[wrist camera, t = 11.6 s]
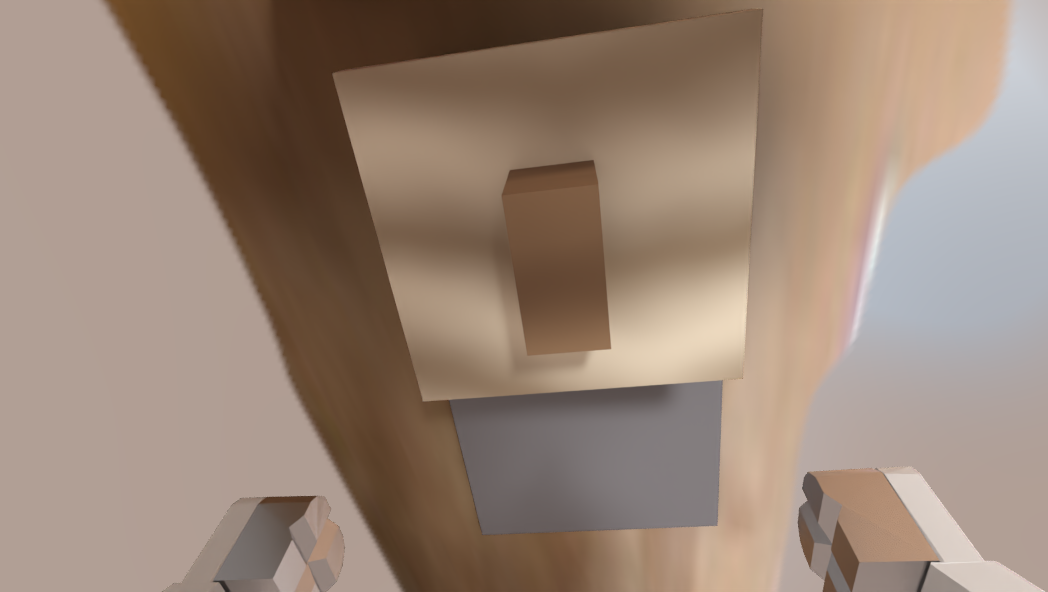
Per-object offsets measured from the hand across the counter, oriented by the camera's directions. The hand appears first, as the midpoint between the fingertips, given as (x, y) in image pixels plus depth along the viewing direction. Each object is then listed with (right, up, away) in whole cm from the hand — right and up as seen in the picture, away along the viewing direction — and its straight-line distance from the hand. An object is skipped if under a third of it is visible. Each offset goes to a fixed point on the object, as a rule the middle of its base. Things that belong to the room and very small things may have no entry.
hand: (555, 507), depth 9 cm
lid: (+1, +6, +12) cm, 14 cm away
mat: (+3, -5, +25) cm, 26 cm away
